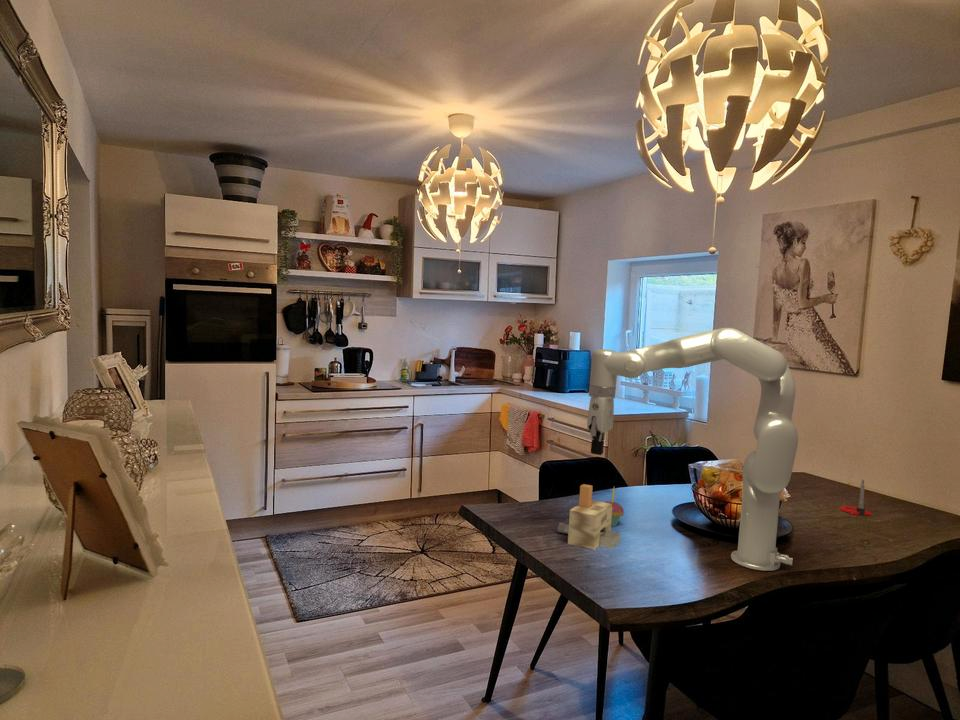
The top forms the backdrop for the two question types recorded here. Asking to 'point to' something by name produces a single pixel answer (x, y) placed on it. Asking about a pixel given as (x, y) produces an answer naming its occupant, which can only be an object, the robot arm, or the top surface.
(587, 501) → the plunger
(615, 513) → the cupcake
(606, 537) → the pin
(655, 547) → the top surface
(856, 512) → the grey spike red base
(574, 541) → the block
